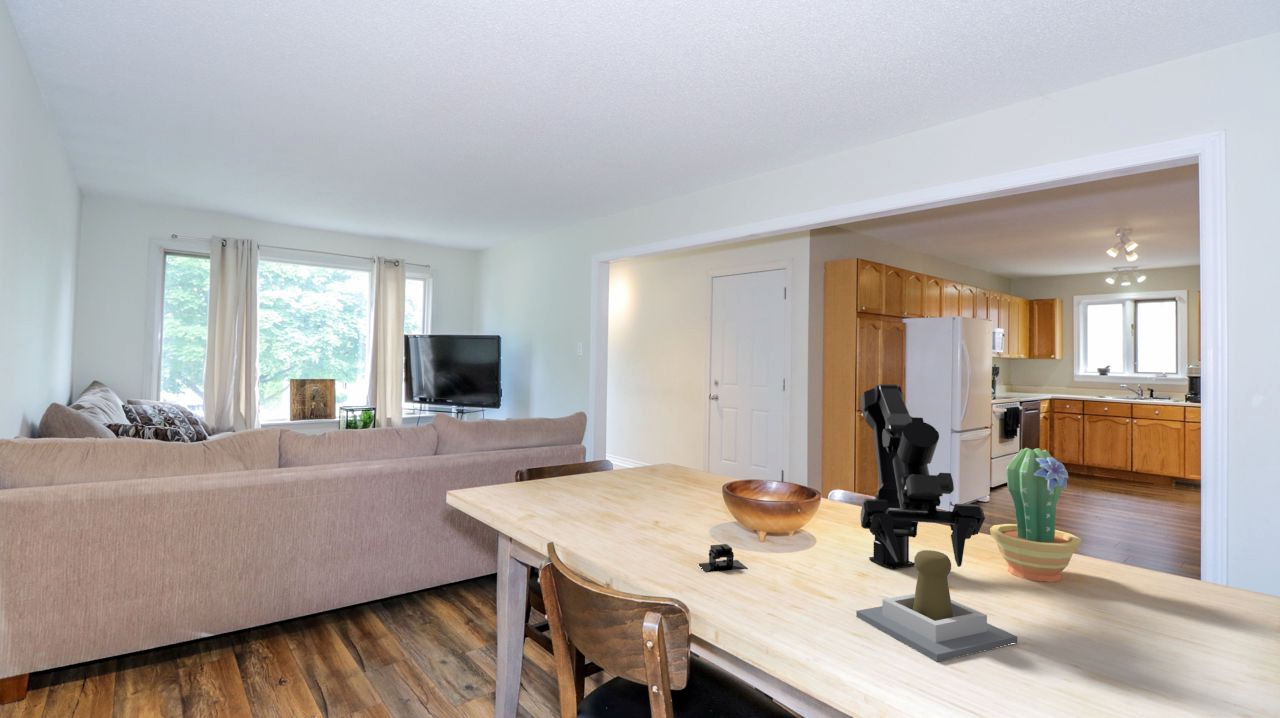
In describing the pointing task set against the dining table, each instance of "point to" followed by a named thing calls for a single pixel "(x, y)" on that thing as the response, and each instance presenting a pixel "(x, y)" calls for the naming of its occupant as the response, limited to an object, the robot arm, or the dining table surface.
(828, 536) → the dining table surface
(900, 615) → the socket plate
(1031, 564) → the potted cactus
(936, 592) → the cork
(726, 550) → the black bracket mount
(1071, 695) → the dining table surface
